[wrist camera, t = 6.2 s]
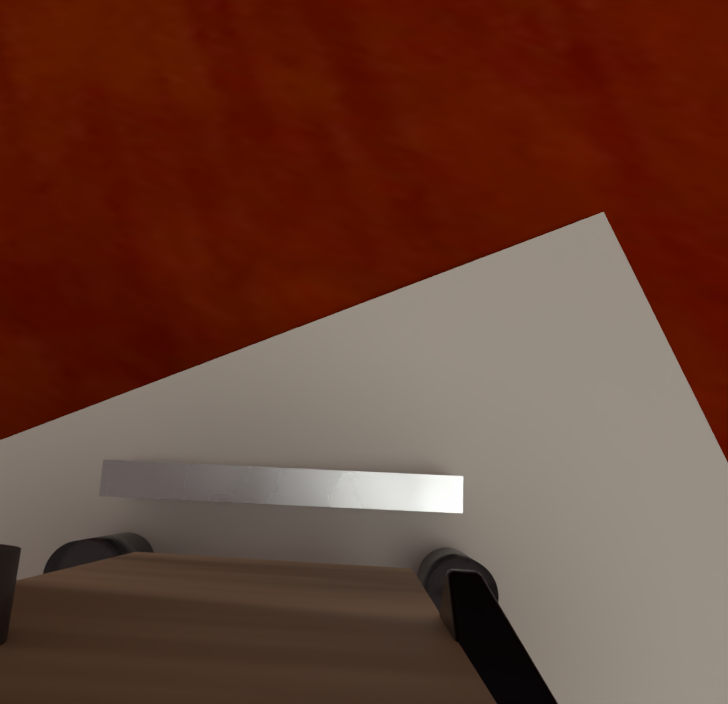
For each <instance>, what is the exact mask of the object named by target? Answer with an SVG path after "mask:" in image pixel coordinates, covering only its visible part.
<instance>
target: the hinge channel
mask: <svg viewBox="0 0 728 704" xmlns="http://www.w3.org/2000/svg"><path fill="white" fill-rule="evenodd" d="M99 496H105V497H126V498H147V499H168V500H190V501H211V502H232V503H253V504H275V505H296V506H317V507H338V508H360V509H381V510H402V511H423V512H445V513H463V476H449V475H427V474H405V473H384V472H362V471H341V470H319V469H298V468H276V467H254V466H233V465H211V464H190V463H168V462H147V461H125V460H103V466H102V474H101V483H100V491H99ZM133 552H148V553H154V551H153V549H152V547H151V545H150V544H149V542H148V541H147V540H146V539H145V538H144V537H142V536H140V535H138V534H135V533H130V532H125V533H119V534H113V535H107V536H101V537H95V538H89V539H83V540H77V541H72V542H69V543H66V544H64V545H62V546H61V547H59V548H58V549H57V550H56V551H55V552H54V553H53V554H52V555H51V556H50V558H49V559H48V561H47V563H46V565H45V568H44V571H43V574H45V573H50V572H54V571H58V570H62V569H66V568H70V567H75V566H79V565H83V564H87V563H91V562H95V561H100V560H104V559H108V558H112V557H116V556H120V555H124V554H129V553H133ZM450 569H462V570H475V571H477V572H479V573H480V574H481V575H482V577H483V578H484V580H485V581H486V583H487V585H488V586H489V588H490V590H491V592H492V593H493V595H494V597H495V598H496V600H497V602H498V599H499V595H498V588H497V584H496V582H495V580H494V578H493V576H492V574H491V573H490V572H489V571H488V570H487V569H486V568H485V567H484V566H483V565H481V564H480V563H478V562H477V561H475V560H473V559H472V558H470V557H469V556H467V555H466V554H464V553H462V552H461V551H459V550H456V549H453V548H439V549H436V550H434V551H432V552H430V553H429V554H428V555H427V556H426V557H425V558H424V559H423V560H422V562H421V564H420V566H419V569H418V574H417V578H418V579H419V581H420V582H421V584H422V586H423V587H424V589H425V590H426V592H427V594H428V595H429V597H430V598H431V600H432V601H433V603H434V605H435V606H436V608H437V609H438V611H439V613H440V606H441V600H442V593H443V587H444V581H445V575H446V573H447V571H448V570H450Z"/></svg>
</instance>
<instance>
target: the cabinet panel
mask: <svg viewBox="0 0 728 704" xmlns="http://www.w3.org/2000/svg"><path fill="white" fill-rule="evenodd" d="M103 460H125V461H147V462H168V463H190V464H211V465H233V466H254V467H276V468H298V469H319V470H341V471H362V472H384V473H405V474H427V475H449V476H463V513H445V512H423V511H402V510H381V509H360V508H338V507H317V506H296V505H275V504H253V503H232V502H211V501H190V500H168V499H147V498H126V497H105V496H99V491H100V483H101V474H102V466H103ZM125 532H130V533H135V534H138V535H140V536H142V537H144V538H145V539H146V540H147V541H148V542H149V544H150V545H151V547H152V549H153V551H154V553H165V554H181V555H198V556H214V557H231V558H247V559H264V560H280V561H297V562H314V563H330V564H347V565H363V566H380V567H396V568H412V570H413V571H414V573H415V574H416V576H417V574H418V569H419V566H420V564H421V562H422V560H423V559H424V558H425V557H426V556H427V555H428V554H429V553H430V552H432V551H434V550H436V549H439V548H453V549H456V550H459V551H461V552H462V553H464V554H466V555H467V556H469V557H470V558H472V559H473V560H475V561H477V562H478V563H480V564H481V565H483V566H484V567H485V568H486V569H487V570H488V571H489V572H490V573H491V574H492V576H493V578H494V580H495V582H496V584H497V588H498V595H499V599H498V603H499V605H500V607H501V608H502V610H503V612H504V613H505V615H506V617H507V619H508V620H509V622H510V624H511V625H512V627H513V629H514V630H515V632H516V634H517V635H518V637H519V639H520V640H521V642H522V644H523V645H524V647H525V649H526V651H527V652H528V654H529V656H530V657H531V659H532V661H533V662H534V664H535V666H536V667H537V669H538V671H539V672H540V674H541V676H542V677H543V679H544V681H545V683H546V684H547V686H548V688H549V689H550V691H551V693H552V694H553V696H554V698H555V699H556V701H557V703H558V704H728V463H727V461H726V459H725V456H724V454H723V452H722V450H721V448H720V446H719V444H718V442H717V440H716V438H715V436H714V434H713V432H712V430H711V428H710V426H709V424H708V422H707V420H706V418H705V416H704V414H703V412H702V410H701V408H700V406H699V404H698V402H697V400H696V398H695V396H694V394H693V392H692V390H691V388H690V386H689V384H688V382H687V380H686V378H685V376H684V374H683V372H682V370H681V368H680V365H679V363H678V361H677V359H676V357H675V355H674V353H673V351H672V349H671V347H670V345H669V343H668V341H667V339H666V337H665V335H664V333H663V331H662V329H661V327H660V325H659V323H658V321H657V319H656V317H655V315H654V313H653V311H652V309H651V307H650V305H649V303H648V301H647V299H646V297H645V295H644V293H643V291H642V289H641V287H640V285H639V283H638V281H637V279H636V277H635V275H634V272H633V270H632V268H631V266H630V264H629V262H628V260H627V258H626V256H625V254H624V252H623V250H622V248H621V246H620V244H619V242H618V240H617V238H616V236H615V234H614V232H613V230H612V228H611V226H610V224H609V222H608V220H607V218H606V216H605V214H604V212H602V213H599V214H597V215H594V216H591V217H589V218H586V219H584V220H581V221H578V222H576V223H573V224H570V225H568V226H565V227H562V228H560V229H557V230H554V231H552V232H549V233H547V234H544V235H541V236H539V237H536V238H533V239H531V240H528V241H525V242H523V243H520V244H517V245H515V246H512V247H510V248H507V249H504V250H502V251H499V252H496V253H494V254H491V255H488V256H486V257H483V258H480V259H478V260H475V261H473V262H470V263H467V264H465V265H462V266H459V267H457V268H454V269H451V270H449V271H446V272H444V273H441V274H438V275H436V276H433V277H430V278H428V279H425V280H422V281H420V282H417V283H414V284H412V285H409V286H407V287H404V288H401V289H399V290H396V291H393V292H391V293H388V294H385V295H383V296H380V297H377V298H375V299H372V300H370V301H367V302H364V303H362V304H359V305H356V306H354V307H351V308H348V309H346V310H343V311H340V312H338V313H335V314H333V315H330V316H327V317H325V318H322V319H319V320H317V321H314V322H311V323H309V324H306V325H304V326H301V327H298V328H296V329H293V330H290V331H288V332H285V333H282V334H280V335H277V336H274V337H272V338H269V339H267V340H264V341H261V342H259V343H256V344H253V345H251V346H248V347H245V348H243V349H240V350H237V351H235V352H232V353H230V354H227V355H224V356H222V357H219V358H216V359H214V360H211V361H208V362H206V363H203V364H200V365H198V366H195V367H193V368H190V369H187V370H185V371H182V372H179V373H177V374H174V375H171V376H169V377H166V378H164V379H161V380H158V381H156V382H153V383H150V384H148V385H145V386H142V387H140V388H137V389H134V390H132V391H129V392H127V393H124V394H121V395H119V396H116V397H113V398H111V399H108V400H105V401H103V402H100V403H97V404H95V405H92V406H90V407H87V408H84V409H82V410H79V411H76V412H74V413H71V414H68V415H66V416H63V417H60V418H58V419H55V420H53V421H50V422H47V423H45V424H42V425H39V426H37V427H34V428H31V429H29V430H26V431H24V432H21V433H18V434H16V435H13V436H10V437H8V438H5V439H2V440H0V544H4V545H12V546H17V547H20V548H21V553H20V559H19V566H18V572H17V579H16V580H20V579H25V578H29V577H33V576H37V575H41V574H43V571H44V568H45V565H46V563H47V561H48V559H49V558H50V556H51V555H52V554H53V553H54V552H55V551H56V550H57V549H58V548H59V547H61V546H62V545H64V544H66V543H69V542H72V541H77V540H83V539H89V538H95V537H101V536H107V535H113V534H119V533H125Z"/></svg>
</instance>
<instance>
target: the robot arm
mask: <svg viewBox="0 0 728 704" xmlns="http://www.w3.org/2000/svg"><path fill="white" fill-rule="evenodd" d="M439 616H440V618H441V619H442V621H443V623H444V624H445V626H446V627H447V629H448V631H449V632H450V634H451V636H452V637H453V639H454V640H455V641H456V642H458V643H459V644H460V646H461V647H462V649H463V651H464V652H465V654H466V655H467V657H468V659H469V660H470V662H471V663H472V665H473V666H474V668H475V670H476V671H477V673H478V674H479V676H480V678H481V679H482V681H483V682H484V684H485V686H486V687H487V689H488V690H489V692H490V693H491V695H492V697H493V698H494V700H495V701H496V703H497V704H558V703H557V701H556V699H555V698H554V696H553V694H552V693H551V691H550V689H549V688H548V686H547V684H546V683H545V681H544V679H543V677H542V676H541V674H540V672H539V671H538V669H537V667H536V666H535V664H534V662H533V661H532V659H531V657H530V656H529V654H528V652H527V651H526V649H525V647H524V645H523V644H522V642H521V640H520V639H519V637H518V635H517V634H516V632H515V630H514V629H513V627H512V625H511V624H510V622H509V620H508V619H507V617H506V615H505V613H504V612H503V610H502V608H501V607H500V605H499V603H498V602H497V600H496V598H495V597H494V595H493V593H492V592H491V590H490V588H489V586H488V585H487V583H486V581H485V580H484V578H483V577H482V575H481V574H480V573H479V572H477V571H475V570H462V569H450V570H448V571H447V573H446V575H445V581H444V587H443V593H442V600H441V606H440V614H439Z"/></svg>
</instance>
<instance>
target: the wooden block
mask: <svg viewBox="0 0 728 704" xmlns="http://www.w3.org/2000/svg"><path fill="white" fill-rule="evenodd" d="M20 553H21V548H20V547H17V546H12V545H4V544H0V704H497V703H496V701H495V700H494V698H493V697H492V695H491V693H490V692H489V690H488V689H487V687H486V686H485V684H484V682H483V681H482V679H481V678H480V676H479V674H478V673H477V671H476V670H475V668H474V666H473V665H472V663H471V662H470V660H469V659H468V657H467V655H466V654H465V652H464V651H463V649H462V647H461V646H460V644H459V643H458V642H456V641H455V640H454V639H453V637H452V636H451V634H450V632H449V631H448V629H447V627H446V626H445V624H444V623H443V621H442V619H441V618H440V616H439V614H440V613H439V611H438V609H437V608H436V606H435V605H434V603H433V601H432V600H431V598H430V597H429V595H428V594H427V592H426V590H425V589H424V587H423V586H422V584H421V582H420V581H419V579H418V578H417V576H416V574H415V573H414V571H413V570H412V568H396V567H380V566H363V565H347V564H330V563H314V562H297V561H280V560H264V559H247V558H231V557H214V556H198V555H181V554H165V553H148V552H133V553H129V554H124V555H120V556H116V557H112V558H108V559H104V560H100V561H95V562H91V563H87V564H83V565H79V566H75V567H70V568H66V569H62V570H58V571H54V572H50V573H45V574H41V575H37V576H33V577H29V578H25V579H20V580H16V579H17V572H18V566H19V559H20Z"/></svg>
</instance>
